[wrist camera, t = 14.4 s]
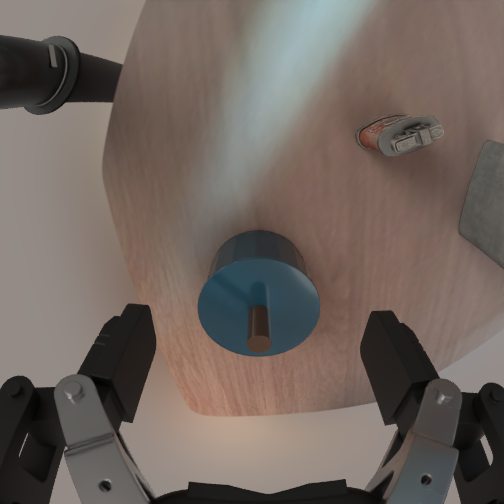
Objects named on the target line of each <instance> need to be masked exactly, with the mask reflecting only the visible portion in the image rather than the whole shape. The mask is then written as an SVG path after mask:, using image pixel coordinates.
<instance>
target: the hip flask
mask: <svg viewBox="0 0 504 504" xmlns="http://www.w3.org/2000/svg"><path fill="white" fill-rule="evenodd" d="M459 233H460V235H462V236H463V237H464V238H466V239H467V240H468V241H469V242H471V243H472V244H473V245H475V246H476V247H477V248H478V249H480V250H481V251H482V252H483V253H485V254H486V255H487V256H488V257H490V258H491V259H492V260H493V261H494V262H496V263H497V264H498V265H499V266H500V267H501V268H503V269H504V144H502V143H498V142H494V141H490V140H488V141H486V142H485V143H484V145H483V148H482V150H481V153H480V155H479V158H478V161H477V164H476V167H475V170H474V173H473V176H472V179H471V182H470V185H469V189H468V192H467V196H466V199H465V203H464V207H463V211H462V215H461V219H460V224H459Z"/></svg>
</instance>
